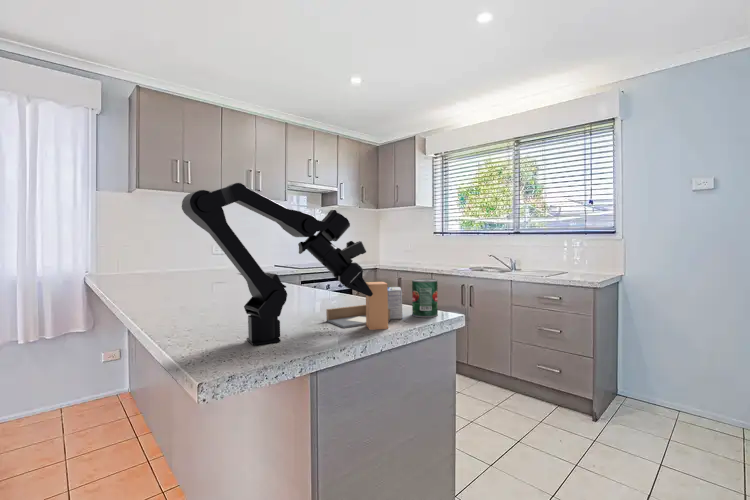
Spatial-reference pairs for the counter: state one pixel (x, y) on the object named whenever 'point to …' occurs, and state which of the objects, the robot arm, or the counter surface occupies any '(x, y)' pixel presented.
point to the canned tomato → (424, 298)
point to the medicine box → (395, 302)
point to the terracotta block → (377, 306)
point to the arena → (348, 316)
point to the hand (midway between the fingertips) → (368, 292)
